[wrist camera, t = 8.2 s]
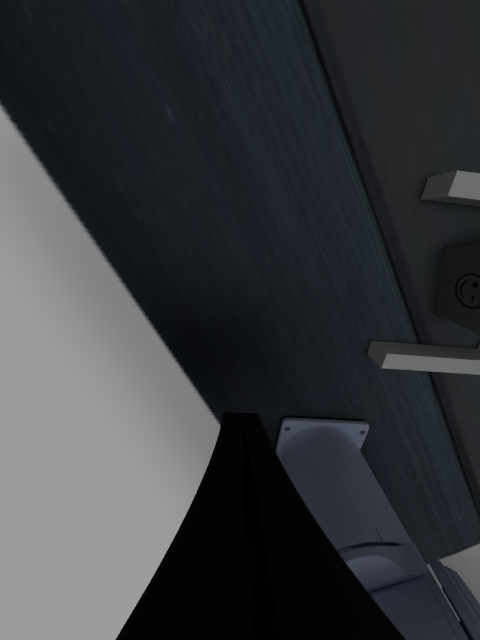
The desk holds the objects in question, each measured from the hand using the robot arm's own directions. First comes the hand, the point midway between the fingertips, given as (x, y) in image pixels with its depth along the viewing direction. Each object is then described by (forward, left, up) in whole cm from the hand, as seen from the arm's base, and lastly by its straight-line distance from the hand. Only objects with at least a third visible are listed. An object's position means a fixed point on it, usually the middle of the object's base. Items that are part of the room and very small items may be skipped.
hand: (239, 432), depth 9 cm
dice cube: (+6, -17, -10) cm, 20 cm away
